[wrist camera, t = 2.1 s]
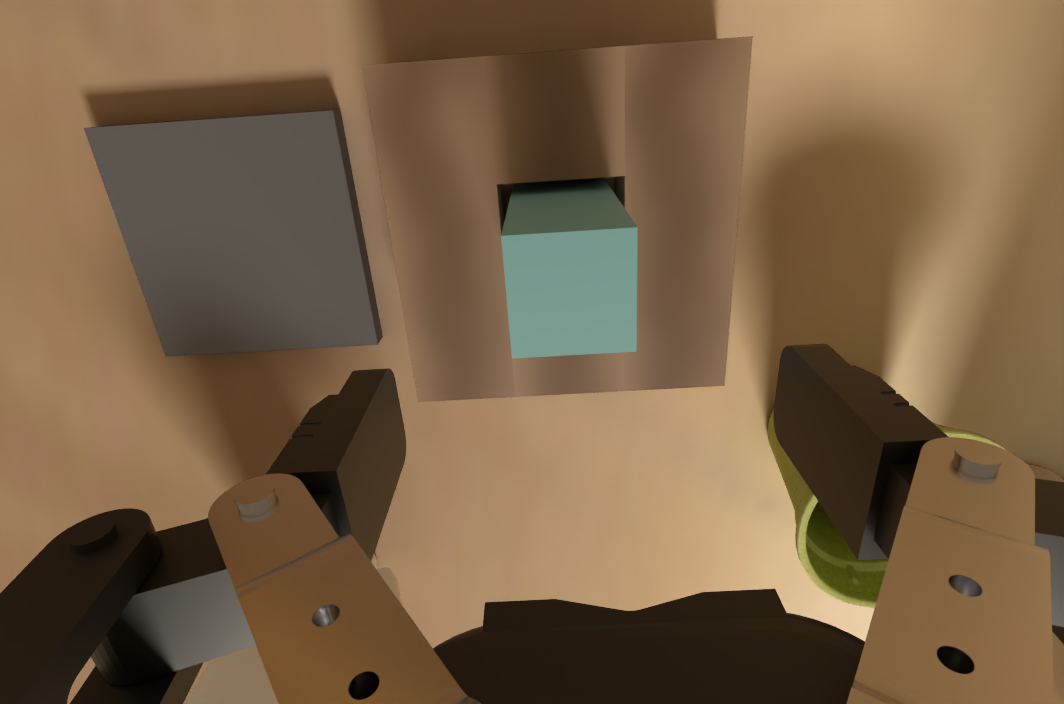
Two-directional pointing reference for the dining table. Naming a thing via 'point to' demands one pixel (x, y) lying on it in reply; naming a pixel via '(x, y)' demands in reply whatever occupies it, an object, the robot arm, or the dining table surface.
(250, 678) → the mug
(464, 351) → the pocket block
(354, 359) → the dining table surface
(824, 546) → the plant pot
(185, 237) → the mat
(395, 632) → the robot arm
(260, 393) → the dining table surface
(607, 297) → the peg
